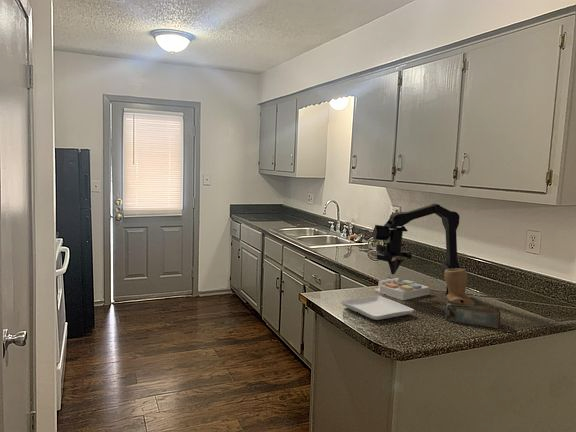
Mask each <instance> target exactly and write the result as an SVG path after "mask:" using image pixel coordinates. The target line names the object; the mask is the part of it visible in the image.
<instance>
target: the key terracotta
mask: <svg viewBox="0 0 576 432" xmlns="http://www.w3.org/2000/svg"><path fill="white" fill-rule="evenodd" d="M385 286H386V287H390V288H397V287H399V285H398V284H394V283H387V284H385Z"/></svg>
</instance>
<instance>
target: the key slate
mask: <svg viewBox="0 0 576 432" xmlns="http://www.w3.org/2000/svg"><path fill="white" fill-rule="evenodd" d="M418 284H419V283H416V284H414V283H413V284H408V286H412V287H414V289H419V288H421V287H422V286H421V285H422V284H420V285H418Z"/></svg>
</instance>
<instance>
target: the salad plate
mask: <svg viewBox="0 0 576 432" xmlns="http://www.w3.org/2000/svg"><path fill="white" fill-rule="evenodd" d="M340 303H341V305H342V306H344V307H345V308H347V309H348V310H351V311H353V312H355V313H357V312H358V313H357V314H359V313H360V315H361V316H364V317H366V318H369V319H371V320H375V321H379V320H380V321H381V320H385V319H392V318H396V317H397V318H398V317H401V316H402V317H403V316H406V315H409V314H412V313H413V312H414V311H415V309H414V308H411V307H409V306H407V305H404V304H402V303H399V302H397V301H394V300H392V299H389V298H386V297H384V296H381V295H379V294H377V295H369V296H362V297H356V298H349V299H343V300H340Z"/></svg>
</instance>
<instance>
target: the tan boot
mask: <svg viewBox="0 0 576 432" xmlns="http://www.w3.org/2000/svg"><path fill="white" fill-rule="evenodd" d="M443 276H444V280H445V284H446V288H447V287H448V291H449V294H447V295H446V299H447V300H448V302H454V303H461V304H468V305H475V302H474V301H473V300H472V299H471V298H470V296H468V295H466V287H467V284H468V272H467V270H466V269H465V268H461V269H446V270H445V271H444V272H443Z"/></svg>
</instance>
